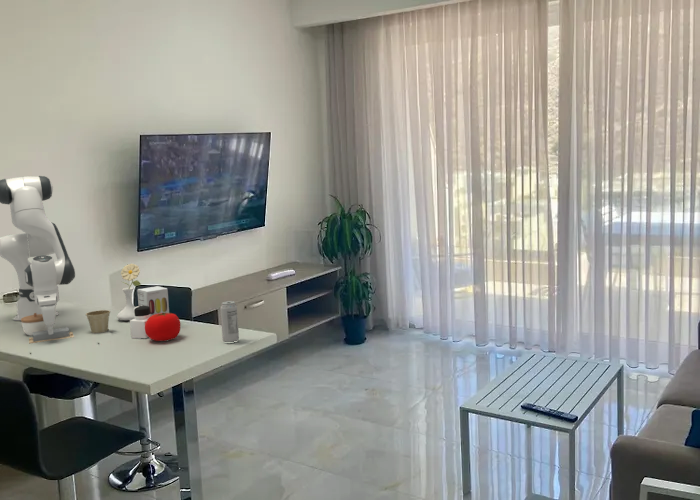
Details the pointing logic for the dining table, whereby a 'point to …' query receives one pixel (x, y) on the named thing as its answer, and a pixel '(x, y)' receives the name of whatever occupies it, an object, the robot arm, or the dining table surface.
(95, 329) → the flower pot
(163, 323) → the tomato
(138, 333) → the medicine bottle
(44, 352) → the dining table surface
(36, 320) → the lidded jar
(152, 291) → the supplement box
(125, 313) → the flower in vase
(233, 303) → the energy drink can
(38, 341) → the wooden board
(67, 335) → the slate tile
